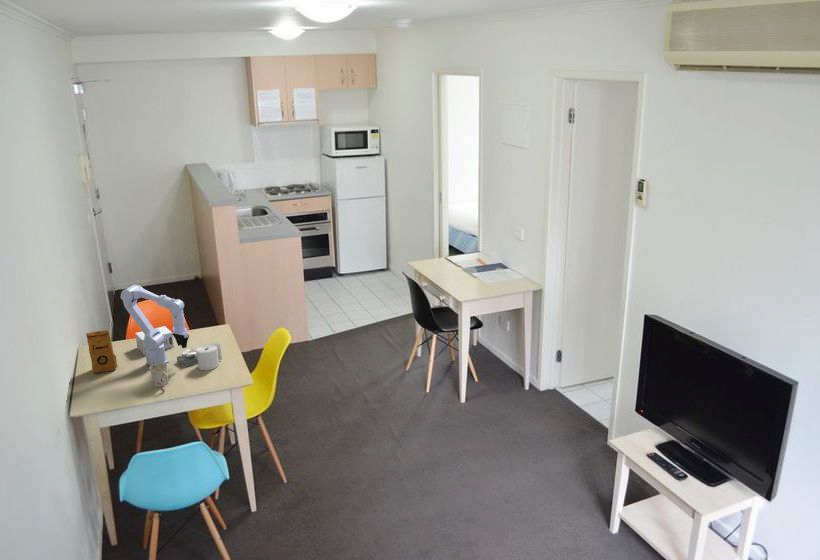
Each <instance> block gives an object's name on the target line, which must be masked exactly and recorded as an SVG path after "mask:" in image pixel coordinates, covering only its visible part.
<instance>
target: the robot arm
mask: <svg viewBox="0 0 820 560" xmlns="http://www.w3.org/2000/svg"><path fill="white" fill-rule="evenodd" d="M141 298H142V299H146V300H149V301H152V302H155V303H156V304H157V306H160V307H161V308H165V309H167V310H168V311H169V313H171V318H172V325H173V326H172V327H171V328H172V331H173V332H172V336H173V338H174V339H175V341H176V344H177V346H181V348H182V349H186V348H187V346H188V341H189V338H190V334H189V333H188V332H187V331H188V330H189V329H188V328H187V327H186V321H185V315H184V308H185V302H184V301H183V300H181V299H180V298H177V299H175V298H171V297H169V296H167V295H166V294H164V295H163V294H161V295H158V294H155V293H153V292H151V291H149V290H147V289H145V288H143V286H141V285H138V284H132V285H131V286H129V287H127V288H125V289H124V290H122V291H121V293H120V299H121V300H122V302H123V303H122V304H123V307H124V308H125V310H126V311H127V312H128V314H129V315H130V316H131V318H132V319H133V320H134V321H135V323H136V325H137V326H138V327H139V328H140V330H141V332H142V331H143V333H144V334H145V336H144V340H145V342H146V345H147V347H148V348H149V349H148V350H146V351H145V359H146V364H147V365H149V367H150V366H151V365H153V364H155V363H166V364H168V363H169V362H170V360H168V359H167V358H166V357H167V356H166V355H167V354H166V351H165V350H166V349H164V342H165V340H166V338H165V335H164V334H163V333H161V332H160V331H159V330H158V329H155V327H154V326H153V325H152V324H151V322H150V321H149V319H148V318H147V317H146V315H145V314H144V313H143V311H142V310H141V308H140V307H139V306H138V305H137V303H138V299H141Z"/></svg>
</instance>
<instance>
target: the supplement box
mask: <svg viewBox="0 0 820 560" xmlns="http://www.w3.org/2000/svg"><path fill="white" fill-rule="evenodd" d="M154 328H155V327H154ZM155 329H158V330H159V331H160V332H161V333H163V334H164V335H165V338H166V340H165V342H164V349H165V350H167V349H168V350H169V349H172V348H175V345H174V344H175V342H174V336H173V335H172V333H173V332H172V331H171V330H170V329H169V328H167V326H166V325H163V326H159V327H156V328H155ZM134 335H135V340H136V347H137V349H138V350H139V351H140V352H141V353H142V354H143V355H144V356H146V354H145V351H146V350H148V349H149V348H148V347H147V345H146V342H145V340H144V336H145V334H144V333H143V331H142V330H141V331H137V332H135V334H134Z"/></svg>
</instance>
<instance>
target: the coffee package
mask: <svg viewBox="0 0 820 560" xmlns="http://www.w3.org/2000/svg"><path fill="white" fill-rule="evenodd" d="M85 335H86V341H87V344H88V352H89V356H90V360H91V369H92V372H93V374H95V373H102V372H111V371H116V370H117V367H118V361H117V356H116V354H115V352H114V348H113V347H114V346H113V343H112V341H111V335H110V332H109V330H108V329H106V330H96V331H91V332H86V334H85Z"/></svg>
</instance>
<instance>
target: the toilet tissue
mask: <svg viewBox="0 0 820 560" xmlns="http://www.w3.org/2000/svg"><path fill="white" fill-rule="evenodd" d="M221 350H222V348H221V344H220V343H211V344H210V343H209V344H203V345H201V346H198V347H197V348H196V350H195V351H196V354H197V361H198V363H197V367H198V369H199V370H202V371H211V370H213V369H216V368H218V367H219V365H220V361H222V360H223V357H222V351H221Z"/></svg>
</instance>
